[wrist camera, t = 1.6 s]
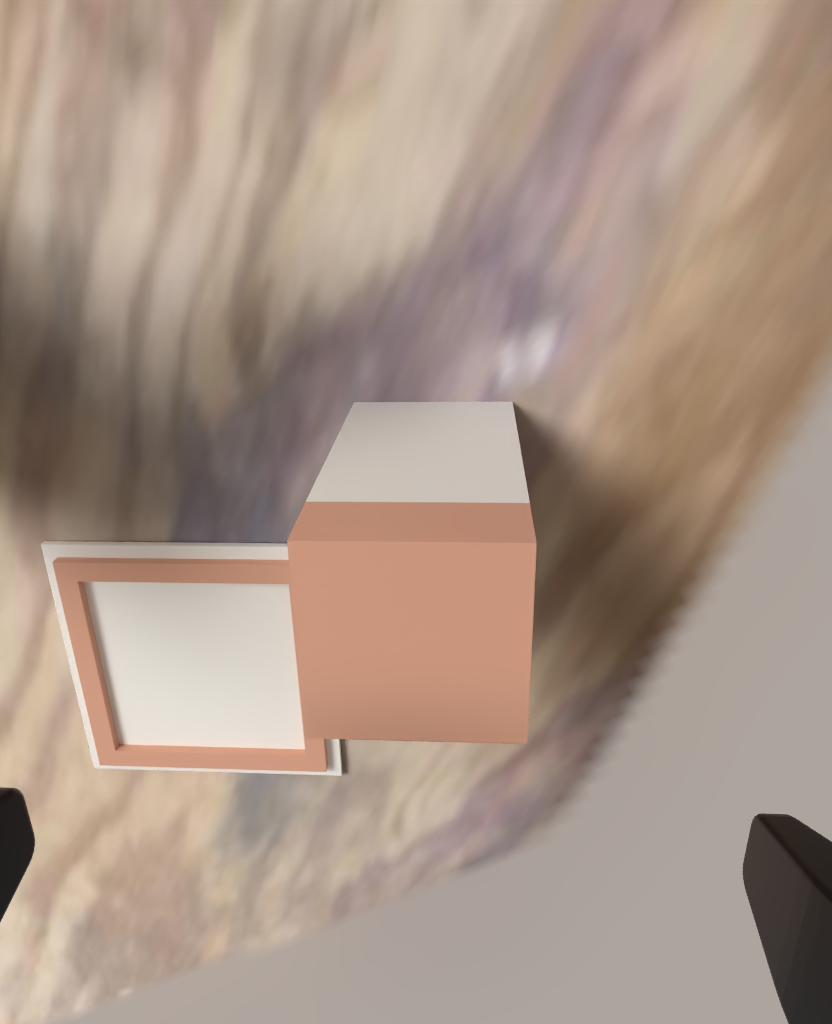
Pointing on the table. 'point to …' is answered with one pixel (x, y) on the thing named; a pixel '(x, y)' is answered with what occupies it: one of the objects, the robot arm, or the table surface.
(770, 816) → the robot arm
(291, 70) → the table surface
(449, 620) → the white orange-topped block
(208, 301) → the table surface
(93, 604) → the white flat square plate
